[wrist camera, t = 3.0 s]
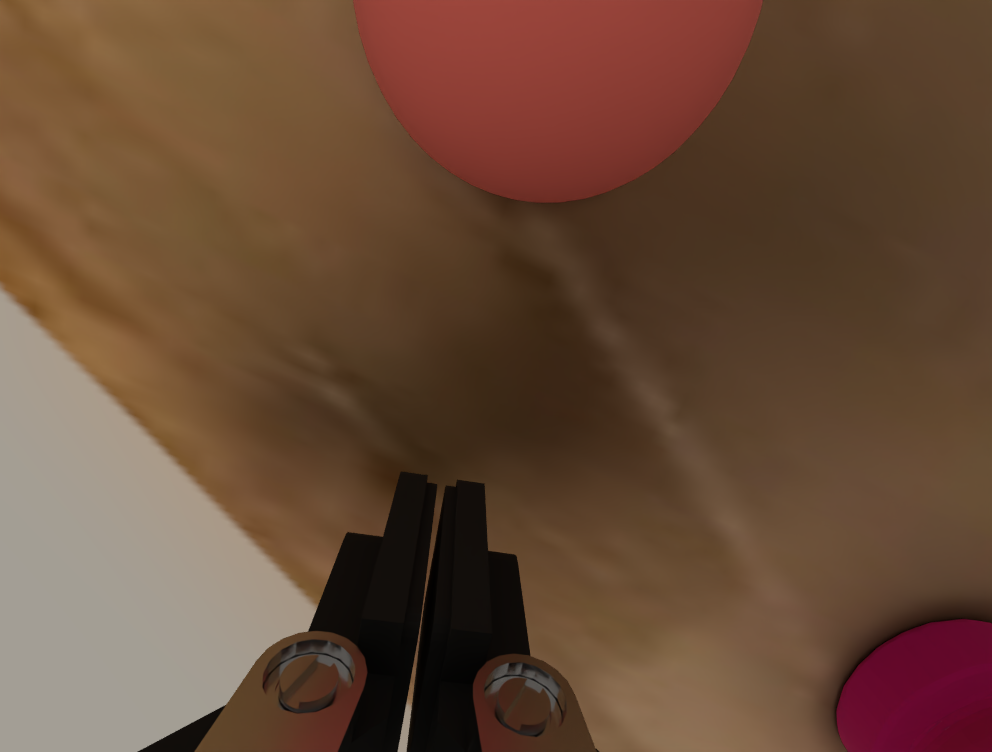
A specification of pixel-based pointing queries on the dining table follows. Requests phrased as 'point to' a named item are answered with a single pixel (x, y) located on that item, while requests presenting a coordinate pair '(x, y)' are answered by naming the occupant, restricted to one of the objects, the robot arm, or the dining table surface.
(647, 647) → the dining table surface
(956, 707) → the pepper mill
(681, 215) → the dining table surface
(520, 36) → the ball
